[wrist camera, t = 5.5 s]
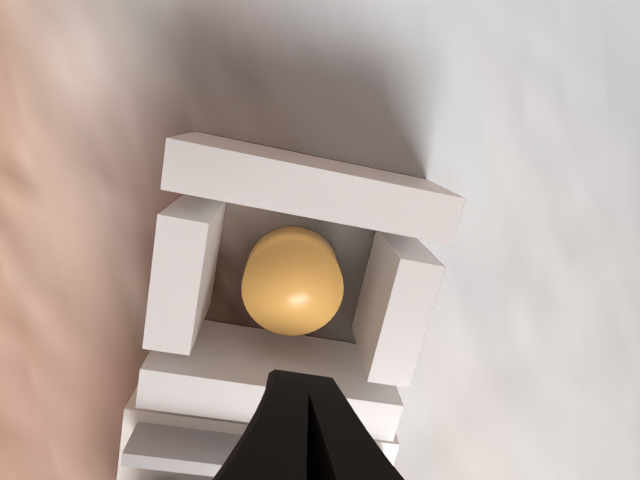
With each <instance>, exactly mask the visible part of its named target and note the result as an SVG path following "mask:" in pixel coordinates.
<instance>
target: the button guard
mask: <svg viewBox="0 0 640 480" xmlns="http://www.w3.org/2000/svg"><path fill="white" fill-rule="evenodd" d="M160 190H165V191H170V192H176V193H181V194H183V195H182V196H180V197H179V198H178V199H177V200H175V201H174V202H173V203H171V204H170V205H169V206H168V207H166V208H165V209H164V210H162V211H161V212H160V213H159V214H157V223H156V232H155V240H154V249H153V258H152V267H151V275H150V284H149V293H148V302H147V310H146V319H145V328H144V337H143V346H142V349H147V350H151V351H150V352H149V354H148V356H147V358H146V359H145V361H144V363H143V364H142V366H141V368H140V372H139V381H138V389H137V398H136V407H135V408H140V409H148V410H155V411H163V412H171V413H178V414H186V415H193V416H201V417H209V418H216V419H224V420H232V421H239V422H247V423H249V422H250V420H251V419H252V417H253V415H254V413H255V411H256V409H257V407H258V405H259V403H260V401H261V399H262V396H263V394H264V391H265V388H266V383H267V378H268V373H270V372H271V371H273V370H275V369H277V370H284V371H291V372H298V373H304V374H311V375H318V376H325V377H332V378H333V379H334V381H335V382H336V384H337V385H338V387H339V388H340V390H341V391H342V393H343V394H344V396H345V397H346V399H347V400H348V402H349V404H350V405H351V407H352V408H353V410H354V411H355V413H356V414H357V416H358V417H359V419H360V420H361V422H362V423H363V425H364V426H365V428H366V429H367V431H368V432H369V434H370V435H371V436H372V438H373V439H377V440H384V441H392V442H393V440H394V437H395V433H396V430H397V427H398V423H399V420H400V417H401V413H402V410H403V407H404V406H403V403H402V401H401V398H400V396H399V393H398V390H397V388H396V386H400V387H407V388H409V387H410V383H411V380H412V377H413V373H414V370H415V367H416V364H417V360H418V357H419V354H420V350H421V347H422V344H423V340H424V337H425V334H426V330H427V327H428V324H429V320H430V317H431V314H432V310H433V307H434V304H435V300H436V297H437V294H438V290H439V287H440V284H441V280H442V277H443V274H444V271H445V266H444V265H443V264H442V263H441V262H440V261H439V260H438V259H437V258H436V257H435V256H434V255H433V254H432V253H431V252H430V251H429V250H428V249H427V248H426V247H425V246H424V245H423V244H422V243H421V242H420V241H419V240H418V239H417V238H419V239H424V240H429V241H434V242H440V243H445V244H450V245H452V244H453V241H454V237H455V234H456V231H457V227H458V224H459V221H460V217H461V214H462V211H463V207H464V204H465V201H466V198H464V197H462V196H460V195H458V194H456V193H454V192H452V191H450V190H448V189H445V188H443V187H441V186H439V185H437V184H435V183H433V182H431V181H429V180H427V179H423V178H418V177H413V176H408V175H403V174H398V173H394V172H389V171H384V170H379V169H374V168H369V167H365V166H360V165H355V164H350V163H345V162H340V161H336V160H331V159H326V158H321V157H316V156H311V155H307V154H302V153H297V152H292V151H287V150H282V149H278V148H273V147H268V146H263V145H258V144H253V143H248V142H244V141H239V140H234V139H229V138H224V137H219V136H215V135H210V134H205V133H200V132H191V133H186V134H181V135H176V136H172V137H167V138H166V144H165V153H164V161H163V170H162V179H161V188H160ZM226 202H229V203H234V204H239V205H244V206H250V207H255V208H260V209H266V210H271V211H276V212H281V213H287V214H292V215H297V216H302V217H308V218H313V219H318V220H324V221H329V222H334V223H339V224H345V225H350V226H355V227H361V228H366V229H371V230H376V232H375V236H374V240H373V244H372V248H371V252H370V256H369V260H368V264H367V268H366V272H365V275H364V279H363V283H362V287H361V291H360V295H359V299H358V303H357V307H356V311H355V315H354V319H353V323H352V330H353V334H354V337H355V341H356V344H355V343H348V342H342V341H335V340H329V339H323V338H316V337H310V336H304V335H298V336H287V335H281V334H276V333H274V332H271V331H269V330H265V329H259V328H252V327H246V326H240V325H233V324H227V323H221V322H214V321H208V320H204V319H205V317H206V314H207V312H208V309H209V307H210V304H211V298H212V292H213V285H214V279H215V273H216V266H217V260H218V253H219V247H220V240H221V234H222V227H223V221H224V215H225V208H226Z"/></svg>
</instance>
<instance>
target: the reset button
mask: <svg viewBox="0 0 640 480" xmlns="http://www.w3.org/2000/svg"><path fill="white" fill-rule="evenodd" d="M241 290H242V298H243V302H244V305H245V307H246V309H247V311H248V313H249V314H250V316H251V317H252V318H253V319H254V320H255V321H256V322H257V323H258V324H259V325H260V326H262V327H263V328H265V329H267V330H269V331H271V332H274V333H276V334H281V335H287V336H298V335H304V334H308V333H311V332H313V331H316V330H317V329H319V328H321V327H322V326H324V325H325V324H327V323H328V322H329V321H330V320H331V319H332V318H333V316H334V315H335V314H336V312H337V311H338V309H339V307H340V305H341V302H342V298H343V293H344V284H343V278H342V274H341V271H340V268H339V264H338V261H337V258H336V255H335V253H334V251H333V249H332V247H331V246H330V244H329V243H328V242H327V241H326V240H325V239H324V238H323V237H322V236H321V235H319V234H318V233H316V232H314V231H312V230H310V229H307V228H303V227H297V226H288V227H282V228H278V229H275V230H273V231H271V232H269V233H267V234H266V235H264V236H263V237H262V238H261V239H260V240H259V241H258V242H257V243H256V244H255V246H254V247H253V249H252V250H251V252H250V255H249V258H248V261H247V265H246V268H245V272H244V275H243V279H242V287H241Z"/></svg>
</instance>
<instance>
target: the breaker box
mask: <svg viewBox="0 0 640 480" xmlns="http://www.w3.org/2000/svg"><path fill="white" fill-rule="evenodd" d="M137 389H138V385H137V387H136V388H135V390H134V392H133V394H132V395H131V397H130V399H129V401H128V403H127V404H126V406H125V408H124V414H123V423H122V433H121V442H120V452H119V461H118V470H117V480H212V479H213V478H214V476H215V475H216V474H217V472H218V471H219V470H220V468H221V467H222V465H223V464H224V462H225V461H226V459H227V458H228V456H229V455H230V453H231V452H232V450H233V449H234V447H235V446H236V444H237V442H238V441H239V439H240V438H241V436H242V435H243V433H244V431H245V430H246V428H247V426H248V424H249V423H247V422H239V421H232V420H224V419H216V418H209V417H201V416H193V415H186V414H178V413H171V412H163V411H155V410H148V409H140V408H135V407H136V398H137ZM374 441H375V442H376V443H377V445H378V446H379V448H380V449H381V450H382V452H383V453H384V454H385V456H386V457H387V458H388V460H389V461H390V462H391V464H392V465H393V464H394V461H395V458H396V454H397V451H398V448H399V442H398V439H397V436H396V433H395V437H394V440H393V442H392V441H384V440H377V439H374Z"/></svg>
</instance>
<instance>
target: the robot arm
mask: <svg viewBox="0 0 640 480" xmlns="http://www.w3.org/2000/svg"><path fill="white" fill-rule="evenodd" d="M212 480H404V479H403V477H402V476H401V475H400V474H399V472H398V471H397V470H396V469H395V467H394V466H393V465H392V464H391V462H390V461H389V460H388V458H387V457H386V456H385V454H384V453H383V452H382V450H381V449H380V448H379V446H378V445H377V443H376V442H375V441H374V439H373V438H372V436H371V435H370V434H369V432H368V431H367V429H366V428H365V426H364V425H363V423H362V422H361V420H360V419H359V417H358V416H357V414H356V413H355V411H354V410H353V408H352V407H351V405H350V404H349V402H348V400H347V399H346V397H345V396H344V394H343V393H342V391H341V390H340V388H339V387H338V385H337V384H336V382H335V381H334V379H333V378H332V377H325V376H318V375H311V374H304V373H298V372H291V371H284V370H277V369H275V370H273V371H271V372H270V373H268V378H267V383H266V388H265V391H264V394H263V396H262V399H261V401H260V403H259V405H258V407H257V409H256V411H255V413H254V415H253V417H252V419H251V420H250V422H249V424H248V426H247V428H246V430H245V431H244V433H243V435H242V436H241V438H240V439H239V441H238V442H237V444H236V446H235V447H234V449H233V450H232V452H231V453H230V455H229V456H228V458H227V459H226V461H225V462H224V464H223V465H222V467H221V468H220V470H219V471H218V472H217V474H216V475H215V476H214V478H213V479H212Z"/></svg>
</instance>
